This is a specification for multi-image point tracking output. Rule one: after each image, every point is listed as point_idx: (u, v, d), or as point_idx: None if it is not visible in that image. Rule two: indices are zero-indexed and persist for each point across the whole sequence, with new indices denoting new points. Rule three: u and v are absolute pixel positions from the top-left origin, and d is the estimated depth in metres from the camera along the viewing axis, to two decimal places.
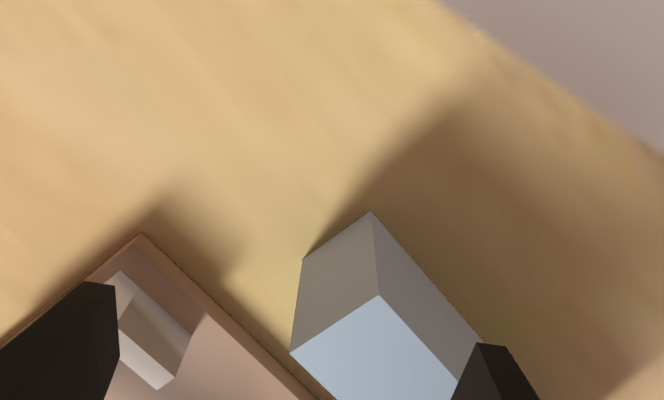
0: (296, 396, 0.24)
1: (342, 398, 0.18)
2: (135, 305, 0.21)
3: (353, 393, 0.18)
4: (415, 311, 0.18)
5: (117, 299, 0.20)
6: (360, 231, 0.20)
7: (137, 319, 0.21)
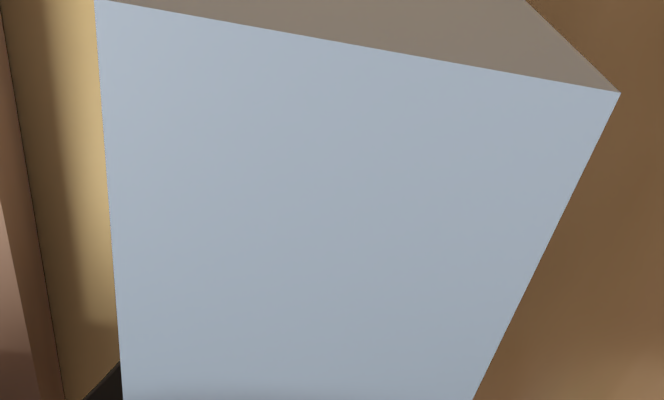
0: None
1: (133, 284, 0.05)
2: None
3: (180, 296, 0.05)
4: None
5: None
6: None
7: None
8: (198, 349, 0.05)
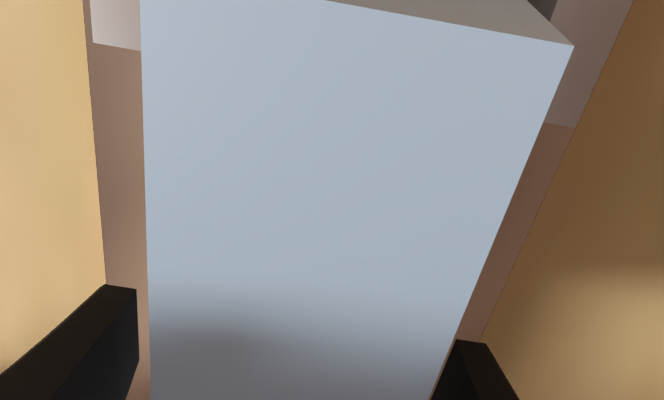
0: (505, 279, 0.14)
1: (162, 221, 0.06)
2: None
3: (202, 232, 0.06)
4: None
5: None
6: None
7: None
8: (217, 282, 0.06)
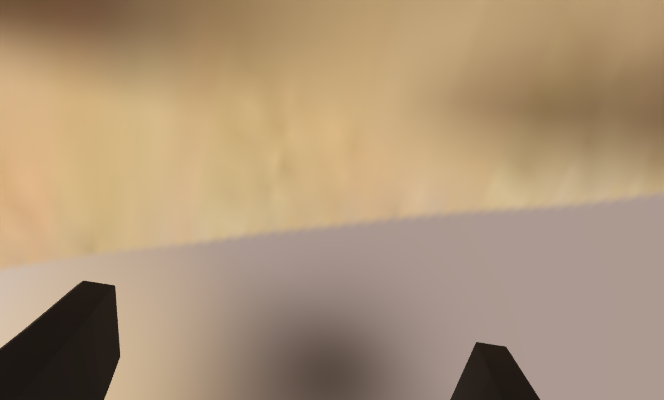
0: None
1: None
2: None
3: None
4: None
5: None
6: None
7: None
8: None
